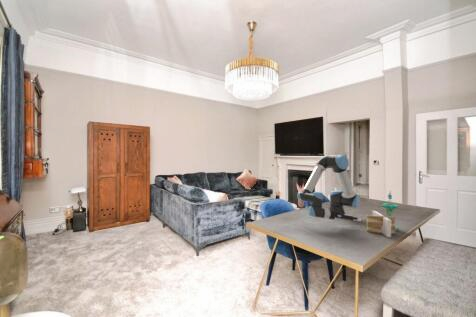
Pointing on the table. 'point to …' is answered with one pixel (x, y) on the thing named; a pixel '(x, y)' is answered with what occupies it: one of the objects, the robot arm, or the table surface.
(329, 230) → the table surface
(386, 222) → the cream slotted board
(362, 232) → the table surface
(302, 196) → the robot arm
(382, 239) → the table surface
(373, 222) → the tan faceted tapered block
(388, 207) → the hanging basket ornament
